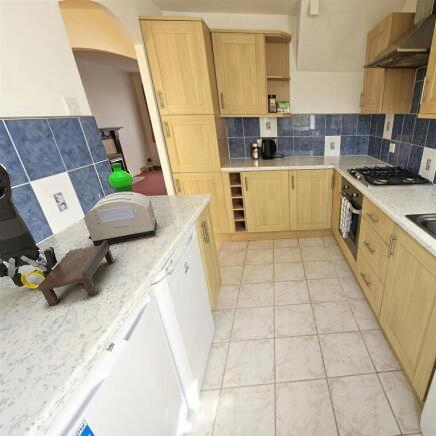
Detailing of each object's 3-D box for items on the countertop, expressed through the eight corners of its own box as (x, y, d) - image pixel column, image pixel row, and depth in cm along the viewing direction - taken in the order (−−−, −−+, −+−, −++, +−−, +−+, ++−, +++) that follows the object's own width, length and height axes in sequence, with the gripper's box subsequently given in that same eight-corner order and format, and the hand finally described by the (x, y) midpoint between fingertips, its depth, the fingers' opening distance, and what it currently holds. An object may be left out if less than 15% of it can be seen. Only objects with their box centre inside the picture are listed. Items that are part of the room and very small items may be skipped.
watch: (53, 282, 76) (45, 266, 73) (47, 287, 73) (38, 271, 71) (31, 285, 75) (21, 269, 72) (24, 291, 72) (14, 274, 70)
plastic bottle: (141, 204, 141) (128, 161, 131) (139, 210, 132) (125, 164, 122) (121, 207, 137) (106, 163, 127) (117, 213, 128) (101, 166, 118)
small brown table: (48, 306, 66) (34, 282, 63) (77, 267, 83) (68, 246, 80) (96, 295, 69) (85, 272, 66) (114, 260, 87) (107, 239, 83)
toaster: (91, 249, 94) (73, 207, 87) (106, 225, 115) (93, 190, 108) (157, 236, 103) (146, 197, 96) (160, 216, 124) (151, 183, 117)
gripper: (49, 223, 72) (71, 270, 79) (-16, 232, 68) (13, 281, 74) (35, 234, 66) (60, 283, 72) (-38, 244, 61) (-3, 296, 68)
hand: (36, 282), depth 73 cm, fingers closed on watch, 6 cm apart
